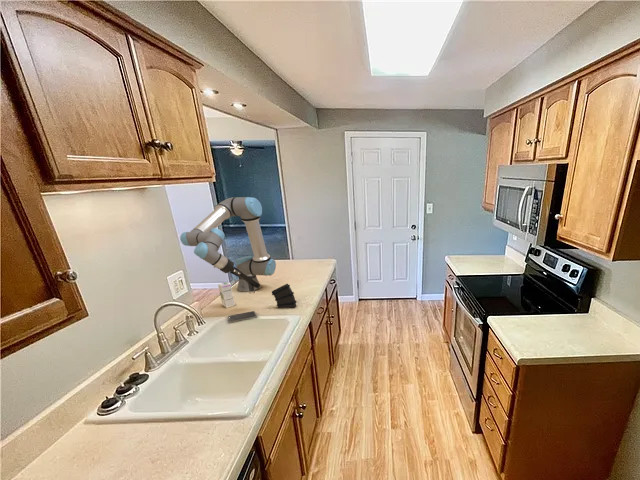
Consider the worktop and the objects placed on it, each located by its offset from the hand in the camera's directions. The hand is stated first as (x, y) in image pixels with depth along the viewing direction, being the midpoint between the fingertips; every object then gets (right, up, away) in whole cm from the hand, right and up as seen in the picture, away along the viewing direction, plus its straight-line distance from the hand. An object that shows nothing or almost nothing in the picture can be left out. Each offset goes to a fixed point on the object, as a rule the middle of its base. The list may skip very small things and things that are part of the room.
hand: (257, 286), depth 198 cm
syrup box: (-22, -12, +8) cm, 26 cm away
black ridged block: (+15, -13, +5) cm, 20 cm away
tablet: (-5, -19, -10) cm, 21 cm away
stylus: (-3, -4, -1) cm, 5 cm away
